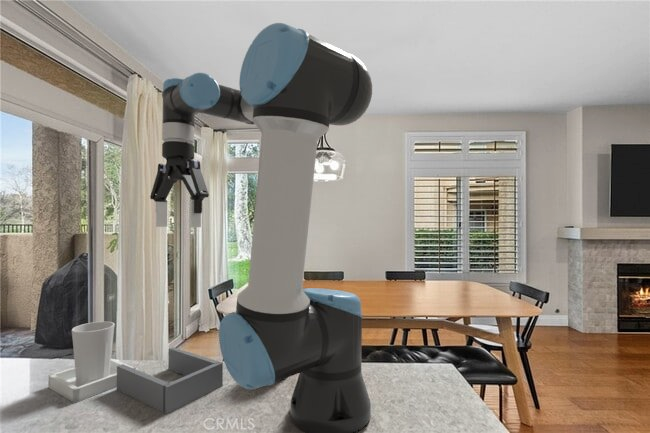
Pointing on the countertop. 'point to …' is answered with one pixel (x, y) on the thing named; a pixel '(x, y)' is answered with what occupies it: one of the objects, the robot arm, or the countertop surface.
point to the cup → (92, 351)
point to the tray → (67, 385)
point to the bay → (171, 396)
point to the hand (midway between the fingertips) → (177, 227)
